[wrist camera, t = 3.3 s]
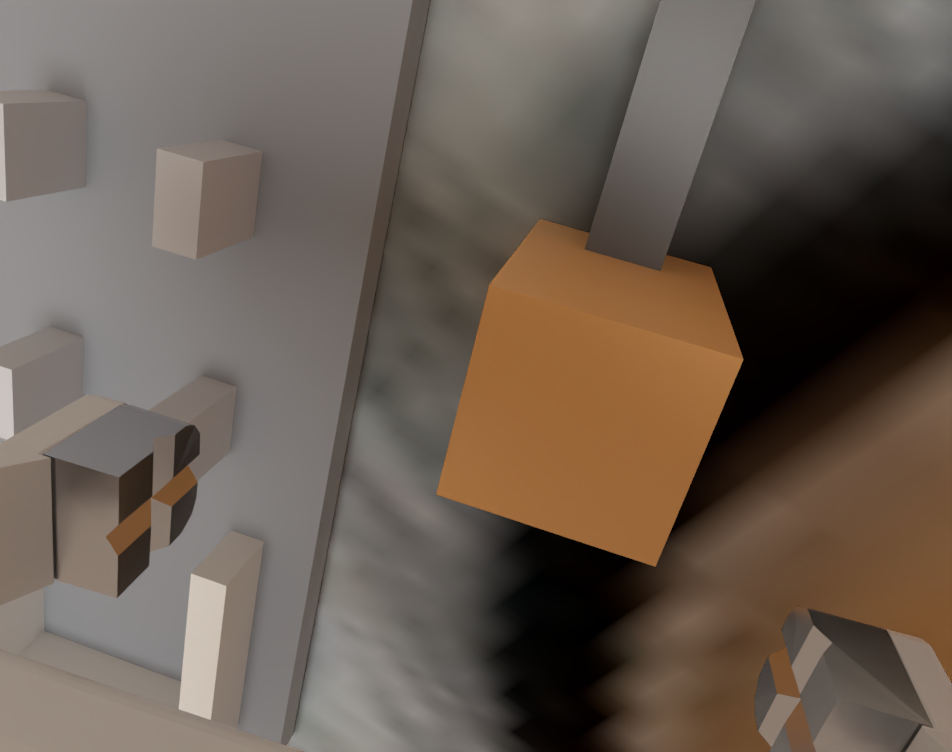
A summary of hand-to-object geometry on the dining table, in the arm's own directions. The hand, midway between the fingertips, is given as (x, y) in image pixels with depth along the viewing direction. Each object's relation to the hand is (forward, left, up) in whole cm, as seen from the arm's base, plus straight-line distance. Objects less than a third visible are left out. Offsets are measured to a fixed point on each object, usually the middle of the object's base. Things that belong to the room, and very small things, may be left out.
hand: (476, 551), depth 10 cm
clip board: (+10, +2, -9) cm, 14 cm away
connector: (-1, -7, -9) cm, 11 cm away
